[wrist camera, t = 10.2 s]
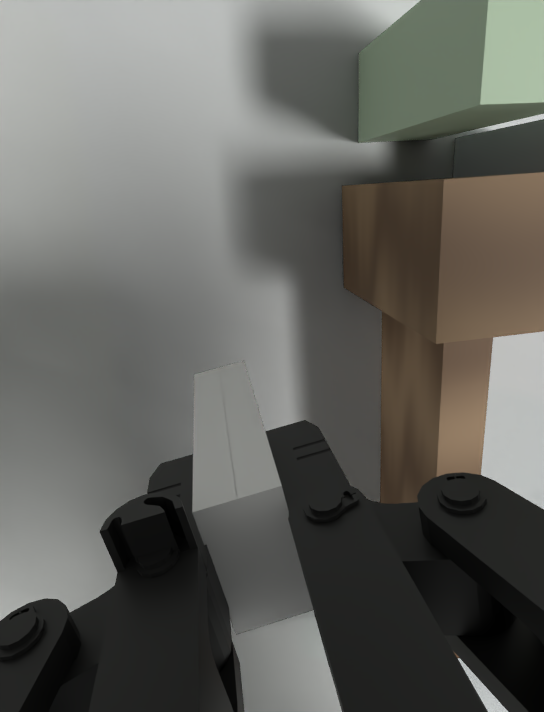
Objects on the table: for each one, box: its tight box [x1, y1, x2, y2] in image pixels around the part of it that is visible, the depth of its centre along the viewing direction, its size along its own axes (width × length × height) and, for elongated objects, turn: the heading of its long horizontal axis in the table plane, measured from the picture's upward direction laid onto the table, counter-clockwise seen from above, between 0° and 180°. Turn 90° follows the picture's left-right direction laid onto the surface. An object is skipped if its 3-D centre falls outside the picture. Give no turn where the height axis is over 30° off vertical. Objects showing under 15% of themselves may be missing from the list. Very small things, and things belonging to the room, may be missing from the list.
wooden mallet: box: [342, 172, 544, 658], centre depth 18 cm, size 18×4×8 cm, turn 4°
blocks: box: [358, 0, 544, 178], centre depth 15 cm, size 6×6×8 cm
